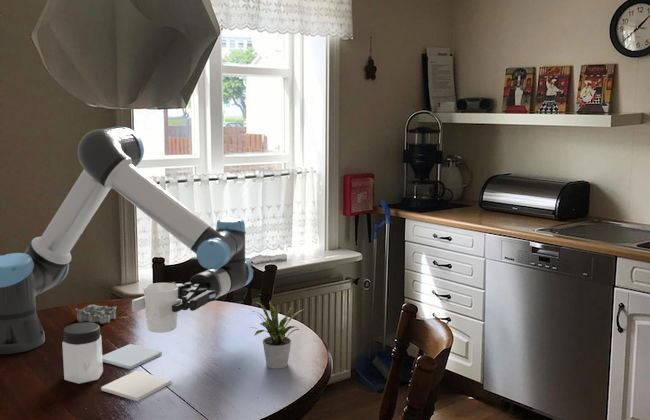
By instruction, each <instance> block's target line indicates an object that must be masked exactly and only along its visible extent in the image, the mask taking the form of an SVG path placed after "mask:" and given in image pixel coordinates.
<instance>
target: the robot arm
mask: <svg viewBox="0 0 650 420" xmlns="http://www.w3.org/2000/svg"><path fill="white" fill-rule="evenodd" d="M76 153H77V158H78V161H79V163H80V165H81V167H82V168H83V170H82V172H80V175H79V176H78V178H77V179H76V181H75V183H74V184H73V186H72V188H71V189H70V191H69V192H68V194H67V195H66V197H65V199H63V201H62V203H61V205H60V206H59V208H58V210H57V211H56V213H55V214H54V216H53V217H52V219H51V221H50V222H49V223H48V225H47V227H46V229H45V230H44V232H43V233H42V235H41V236H36V237H34V238H33V239H31V242H30V243H29V245H28V246H27V248H26V249H25V251H24V252H13V253H6V254H5V255H3V254H2V255H0V355H11V354H12V355H13V354H19V353H24V352H28V351H31V350H34V349H37V348H38V347H40V346H42V345H43V344H44V343H45V342H46V336H45V330H44V328H43V326H42V324H41V321H40V318H39V317H38V315H37V307H36V306H37V305H36V304H37V303H36V296H39V295H41V294H43V293H44V292H46V291H48V290H51V289H53V288H55V287H57V286H58V285H60V284H61V283H62V281H64V280H65V278H66V277H67V275H68V273H69V270H70V268H69V267H70V263H71V261H72V254H71V251H72V249H73V248H74V246H75V245H76V243H77V241H79V239H80V237H81V235H83V232H84V231H85V229H86V228H87V226H88V225H89V223H90V222H91V220H92V218H93V216H94V215H95V214H96V212H97V211H98V209H99V207H100V206H101V204H102V203H103V201H104V200H105V198H106V197H107V195H108V194H109V192H110V191H111V189H113V190H114V191H116V193H118V194H119V195H121V196H122V197H123V198H125V200H127V201H128V202H130V204H132V205H133V206H134V207H136V208H137V209H138V210H140V211H141V212H142V213H143V214H144V215H146V216H148V217H149V218H150V219H151V220H152V221H153V222H155V223H156V224H157V225H159V226H160V227H161V228H163V229H164V230H165V231H166V232H167V233H169V234H171V236H173V237H174V238H175V239H177V240H178V241H179V242H181V244H183V245H185V246H186V247H187V248H188V249H189V250H191V251H192V252H193V253H194V254H196V259H197V261H198V264H199V265H200V266H201V267H203V268H205V270H204V271H202V272H199V273H195V274H194V275H193V276H191V277H190V279H189V281H188V282H184V283H183V284H177V283H176V282H174V281H173V282H172V283H173V284H176V285H178V299H176V300H174V301H171V302H169V303H166V304H164V305H161V306H159V313H160V318H164V317H166V316H169V315H171V314H173V313H176V312H178V313H179V312H180V311H187V310H188V309H189V310H190V311H192V312H194V311H196V310H198V309H199V308H201V307H203V306H205V305H207V304H208V303H210V302H214V301H216V300H217V299H218V298H220V297H222V296H224V295H227V294H229V293H231V292H233V291H236V290H237V291H238V290H240V289H242V288H243V287H245V286H247V285H249V284H250V282H251V281H252V280H253V277H254V269H253V268H252V265H251V264H250V262H249V261H248V260H247V259H246V233H247V232H246V225H245V221H244V220H243V219H241V218H238V217H237V218H236V217H226V218H225V217H223V218H219V219H218V220H217V221H216V228H215V229H214V228H213V227H211V226H210V225H209V224H208V223H207V222H205V221H204V220H203V219H202V218H200V217H199V216H198V215H197V214H195V213H194V212H193V211H191V210H190V209H189V208H188V207H186V206H185V205H184V204H182V202H180V201H179V200H178V199H176V198H175V197H174V196H173V195H171V194H170V193H169V192H168V191H167V190H165V189H164V188H162V187H161V186H160V185H159V184H157V183H156V182H155V181H153V180H152V179H151V178H150V177H148V176H147V175H146V174H145V173H143V172H142V171H141V170H140V169H138V168H137V166H138V165H139V164H140V163H141V161H142V160H143V158H144V153H145V148H144V144H143V141H142V138H141V137H140V135H139V134H138V133H137V132H135V131H134V130H133V129H131V128H129V127H125V126H118V125H116V126H112V127H107V128H98V129H97V128H96V129H94V130H91V131H89V132H87V133H86V134H85V135H83V136H82V138H81V139H80V141H79V143H78V145H77V152H76ZM144 309H145V299H144V295H143V296H141V297H137V298H135V299H132V301H131V312H133V313H136V312H139V311H141V310H144Z"/></svg>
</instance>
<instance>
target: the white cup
mask: <svg viewBox="0 0 650 420" xmlns="http://www.w3.org/2000/svg"><path fill="white" fill-rule="evenodd" d="M178 285H179V284H177V283H176V284H173V282H156V283H151V284H150V283H149V284H148V285H145V286H144V287H143V296H144V299H145V308H144V309H145V316H146V317H145V318H146V325H147V331H149V332H152V333H156V334H157V333H160V334H161V333H162V334H163V333H169V332H172V331H174V330H176V329H177V324H178V323H177V322H178V313H179V311H178V312H176V313H173V314H171V315H169V316H166V317H164V318H160V313H159V306H161V305H164V304H166V303H169V302H171V301H174V300H176V299H178Z"/></svg>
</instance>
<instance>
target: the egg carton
mask: <svg viewBox="0 0 650 420" xmlns="http://www.w3.org/2000/svg"><path fill="white" fill-rule="evenodd" d="M117 307H118V305H116V306H107V305H97V304H93V303H92V304H89V305H87V306H84V307H83V308H81V309H79V308H74V311H76V320H77V321H78V323H84V322H89V323H99V324H102V325H103V324H107V323H111V320H115V319H117V314H116V313H117V311H116V310H117Z"/></svg>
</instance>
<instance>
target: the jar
mask: <svg viewBox="0 0 650 420" xmlns="http://www.w3.org/2000/svg"><path fill="white" fill-rule="evenodd" d="M62 330H63V331H62V333H63V334H62V335H63V341H62V343H61V344H62V346H61V347H62V360H63V376H64V377H63V379H64V380H65V381H67V382H71V383H75V384H85V383H89V382H94V381H97V380H99V379H100V377H101V376H102V374H103V372H104V366H103V365H104V364H103V363H104V362H103V359H102V356H103V344H102V343H103V342H102V335H101V328H100V325H99V324H98V323H96V322H93V323H92V322H89V321H83V322H77V323H76V322H75V323H72V324H70V325H67V326H65V327H64V328H63V329H62Z"/></svg>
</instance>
